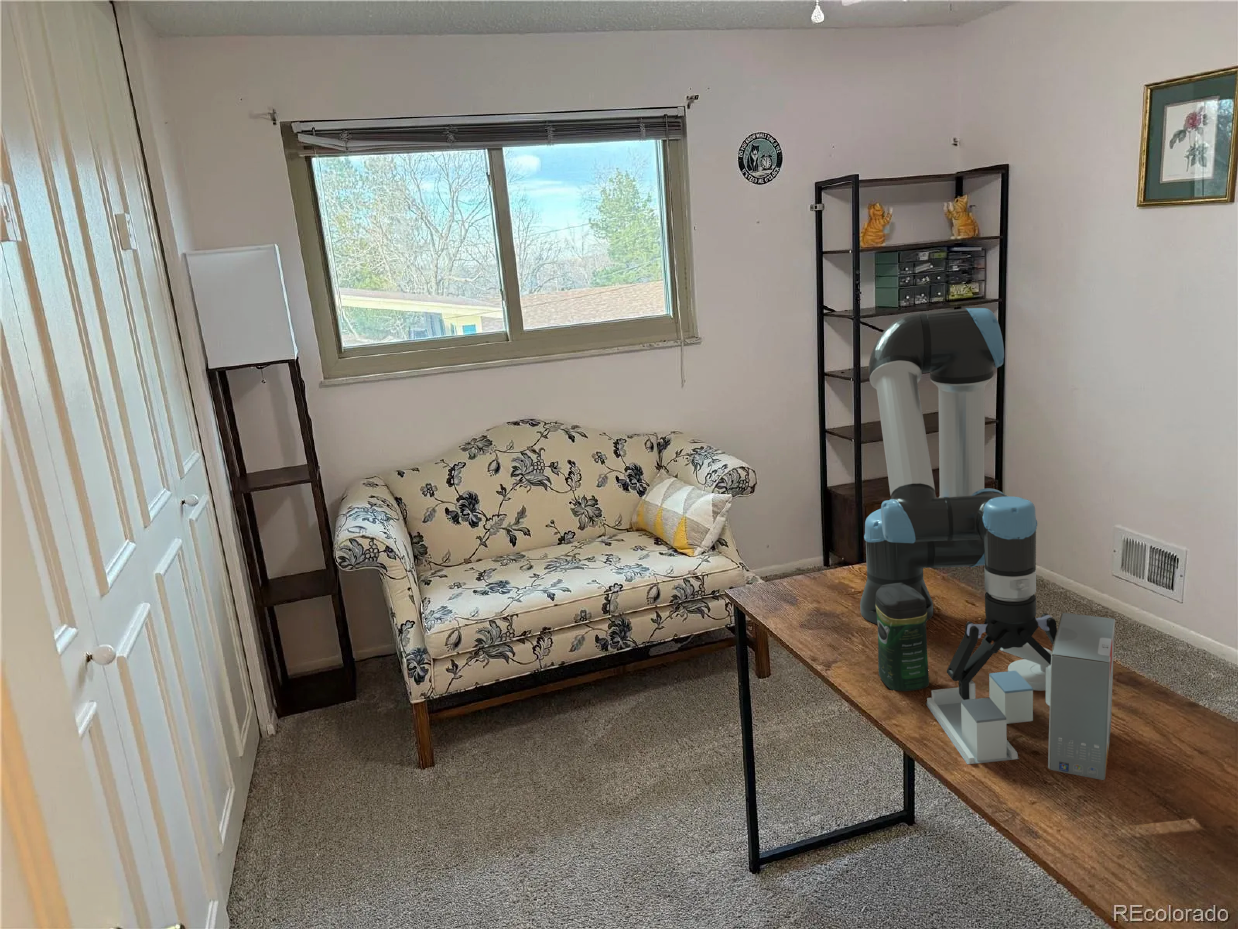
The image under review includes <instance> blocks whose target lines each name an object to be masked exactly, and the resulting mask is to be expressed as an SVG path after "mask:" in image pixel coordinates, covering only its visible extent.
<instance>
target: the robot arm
mask: <svg viewBox="0 0 1238 929" xmlns="http://www.w3.org/2000/svg"><path fill="white" fill-rule="evenodd" d="M997 318H998V317H997V316H996V315H995V313H994V312H993V311H992V310H991V309H989V308H987V307H986V308H985V307H978V308H977V307H976V308H975V307H974V308H973V307H971V308H969V307H965V308H958V309H957V308H956V309H947V310H941V311H931V312H925V313H911V314H907V315H904V316H901V317H900V318H897V319H896V320H894V321H893V322H892V323H890V324H889V325H888V326H887V327H886V328H885V329H884V330H883V331H882V333H880V335H879V336H878V337H877V338H878V339H876V341H875V343H874V345H873V348H872V350H871V353H870V357H869V361H868V376H869V378H868V379H869V383H870V385H871V386H872V388H873V389H875V390H876V395H877V401H878V403H877V404H878V411H879V418H880V425H881V427H880V428H881V433H882V441H883V448H884V455H885V456H884V457H885V462H886V472H887V477H888V478H887V479H888V486H889V494H890V499H889V500H888V499H887V500H883V501H882V503H881V506H880V508H879V509H877V510H875V511H872V512H871V513H870V514H869V515H868V516H867V517H866V518H865V522H864V535H863V538H864V541H865V554H866V555H865V557H866V559H865V560H866V582H865V585H864V588H863V591H862V595H861V597H860V598H861V599H860V602H859V605H860V609H859V610H860V614H861V616H862V617H863V618H864V619H865V620H866V621H868V622H870V623H873V624H876V625H878V622H877V612H876V604H875V602H876V592H877V590H878V589H879V588H880V587H881V586H882V585H886V584H894V583H903V584H905V585H907V586H909V587H911V588H913V589H915V590H916V591H917V592H919V593H920V594H921V595H922V596H923V597H924V598H925V600H926V608H927V619H926V622H928V621H929V620H930V619H932V618H933V616H934V602H933V600H932V597H931V595H930V592H929V590H928V587H927V584H926V581H925V579H924V569H927V568H928V569H930V568H932V569H933V568H934V569H935V568H960V567H961V568H962V567H965V568H966V567H969V568H974V567H977V566H979V567H980V566H984V590H985V594H984V613H985V615H984V616H985V620H984V622H983V624H982V623H973V622H972V621H966V623H965V624H964V635H963V636H962V639H961V640H960V643H959V645H958V646H957V648H956V651H955V653H954V655H953V657H952V658H951V661H950V663H949V665H948V667H947V670H946V673H947V674H948V676H949V678H951V680H952V681H953V682H958V687H959V694H960V696H961V697H962V699H963V700H970V699H976V683H975V682H974V680H973V679H974V677H976V675H977V674H978V673H979V672H980V671H981V669H982V668H983V667H984V666H985V664H986V663H987V662H988V661H989V660H990V659H991V657H992V656H993V655H994V654H997V653H998V652H999V650H1000V648H1003V649H1009V648H1012V647H1017V648H1020V647H1023V645H1025V644H1026V643H1028V644H1029V645H1030V646H1031V647H1032V648H1033V649H1034V650H1035V651H1036V652H1037V653H1039V654H1040V655H1041V656H1042V657H1043V658H1044V659H1045V660H1046V661H1047V662H1048V663H1049V664H1050V665H1051V654H1050V653H1049V652H1047V651H1046V650H1045V649H1044V648H1045V647H1043V646H1042V644H1040V643H1039V642H1038V641H1037V639H1035V638H1034V637H1033V635H1034V634H1035V632H1036V631H1037V629H1038V628H1040V629H1042V631H1044V633H1045V634H1046V637H1047V638H1048V640H1049V641H1050V643H1051V645H1052V646H1053V644H1054V641H1055V637H1056V633H1057V629H1058V625H1057V621H1056V619H1055V618H1053V617H1052V616H1051V615H1049V614H1048V613H1047V612H1045V613H1043V614H1042V615H1041V617H1036V615H1037V597H1036V595H1035V594H1036V592H1037V567H1036V566H1037V560H1036V558H1037V527H1038V520H1037V515H1036V507H1035V504H1034V503H1033V502H1032V501H1031V500H1029V499H1025V498H1023V497H1021V496H1020V497H1019V496H1009V495H1007V494H1005V493H1003V492H1002V491H1000V490H998V489H995V488H992V487H991V488H988V487H987V488H985V452H986V451H985V447H986V446H985V441H986V440H985V436H986V435H985V434H986V433H985V432H986V431H985V429H986V428H985V424H986V423H985V422H986V414H985V413H986V411H985V410H986V409H985V408H986V406H985V405H986V395H985V394H986V386H987V384H988V383H989V382H991V381H992V380H993V379H994V368H995V369H998V368H999V367H1002V365H1004V361H1005V360H1004V358H1005V348H1004V340H1003V335H1002V331H1001V327H1000V324H999V321H998V319H997ZM924 373H925V374H926V373H929V379H930V382H931V383H933V384H934V385H935V386H936V387H937V389H938V451H939V452H938V453H939V454H938V458H939V461H938V462H939V466H938V467H939V496H938V497H937V494H936V488H935V482H934V476H933V469H932V463H931V457H930V452H929V451H930V450H929V445H928V439H927V438H928V437H927V434H926V433H927V432H926V427H925V421H924V414H923V407H922V402H921V395H920V390H919V382H920V381H921V379H922V374H924ZM983 633H985V636H984V637H983V638H982V635H983ZM981 638H982V640H981V643H980V645H978V647H977V648H976V646H977V644H978V642H979V639H981ZM992 642H993V643H992ZM975 648H976V650H974V649H975ZM1050 682H1051V667H1046V690H1045V703H1046V705H1047V706H1048V708H1050Z"/></svg>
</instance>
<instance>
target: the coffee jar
mask: <svg viewBox="0 0 1238 929" xmlns="http://www.w3.org/2000/svg"><path fill="white" fill-rule="evenodd" d="M875 604H876V612H877V622H878V624H877V649H878V650H877V652H878V653H877V656H878V657H877V662H878V663H877V664H878V665H877V666H878V675H879V678H880V679H881V681H882V682H883V683H884V685H885V686H886V687H887V688H888V689H889V690H891V691H896V692H897V691H898V692H911V691H917V690H918V691H919V690H922V689H926V688H927V687H929V684H930V679H929V678H930V675H929V661H928V660H929V659H928V658H929V657H928V642H927V641H928V638H927V621H926V619H927V608H926V600H925V598H924V597H923V596H922V595H921V594H920V593H919V592H917V591H916V590H915V589H913V588H911V587H909V586H907V585H905V584H903V583H894V584H886V585H882V586H881V587H880V588H879V589H878V590H877V592H876V602H875Z"/></svg>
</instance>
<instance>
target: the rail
mask: <svg viewBox="0 0 1238 929" xmlns="http://www.w3.org/2000/svg"><path fill="white" fill-rule="evenodd" d="M926 700H927V701H926V703H925V706H927V708H928V709H929V711H930V713H932V715H933V717H934V718H935V720H936V721H937V722H938V724H939V726H941V728H942V730H943V731H944V732H945V734H946V736H947V737H948V738H949V740H950V742H951V743H952V745H953V746H954V748H956V750H957V752H958V753H959V754H960V756H961V757H962V759H963V761H964V762H965V763H966V765H975V764H983V763H993V762H1003V761H1010V760H1011V761H1012V760H1019V759H1020V758H1019V756H1018V752H1017V750H1016V749H1015V748H1014V746H1012V744H1011V743H1010V741H1009V740H1007V758H1001V759H992V760H983V761H977V760H976V758H975V757H974V756H973V754H972V753H971V751H970V750H969V749H968V747H967V746H966V744H965V743H964V742H963V740H962V721H961V700H963V699H962V697H961V696H960V694H959V686H958V687H951V688H949V687H948V688H939V689H931V697H926Z"/></svg>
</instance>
